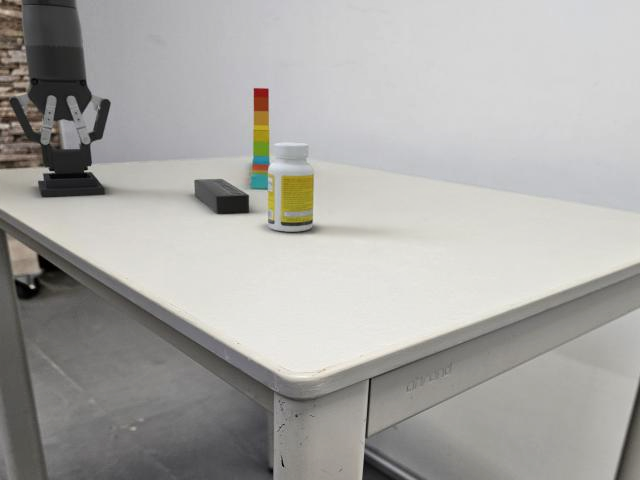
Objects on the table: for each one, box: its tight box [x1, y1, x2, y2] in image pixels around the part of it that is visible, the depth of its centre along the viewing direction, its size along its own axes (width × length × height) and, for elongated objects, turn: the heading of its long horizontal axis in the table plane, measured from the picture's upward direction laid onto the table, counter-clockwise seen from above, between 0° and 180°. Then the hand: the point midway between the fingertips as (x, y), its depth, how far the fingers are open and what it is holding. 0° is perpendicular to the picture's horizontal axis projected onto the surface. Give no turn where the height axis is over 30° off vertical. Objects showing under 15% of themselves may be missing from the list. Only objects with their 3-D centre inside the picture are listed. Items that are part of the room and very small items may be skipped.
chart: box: [249, 87, 271, 190], centre depth 113 cm, size 30×3×15 cm, turn 5°
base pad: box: [37, 171, 106, 198], centre depth 94 cm, size 9×9×2 cm
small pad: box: [52, 148, 85, 174], centre depth 93 cm, size 4×4×3 cm
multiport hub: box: [193, 178, 250, 215], centre depth 89 cm, size 4×14×2 cm, turn 23°
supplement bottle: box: [267, 141, 315, 233], centre depth 75 cm, size 5×5×10 cm
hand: (68, 169), depth 94 cm, fingers closed on small pad, 4 cm apart
